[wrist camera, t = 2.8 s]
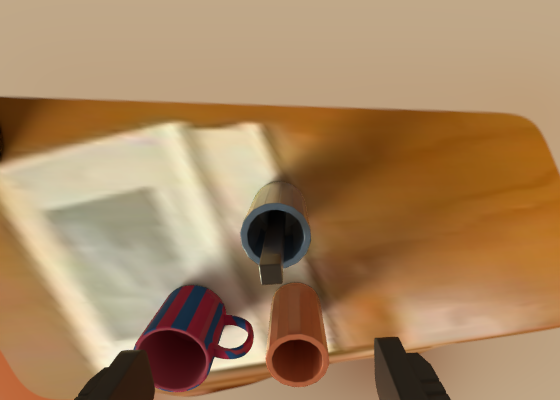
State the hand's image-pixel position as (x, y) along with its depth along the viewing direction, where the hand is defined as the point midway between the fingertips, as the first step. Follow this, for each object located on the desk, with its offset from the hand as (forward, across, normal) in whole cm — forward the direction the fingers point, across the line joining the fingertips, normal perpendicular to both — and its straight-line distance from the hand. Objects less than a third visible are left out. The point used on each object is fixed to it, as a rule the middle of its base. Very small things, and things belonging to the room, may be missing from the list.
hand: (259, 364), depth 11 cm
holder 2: (+20, -1, +10) cm, 22 cm away
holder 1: (+20, 0, 0) cm, 20 cm away
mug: (+20, +8, +11) cm, 24 cm away
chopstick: (+19, 0, 0) cm, 19 cm away
